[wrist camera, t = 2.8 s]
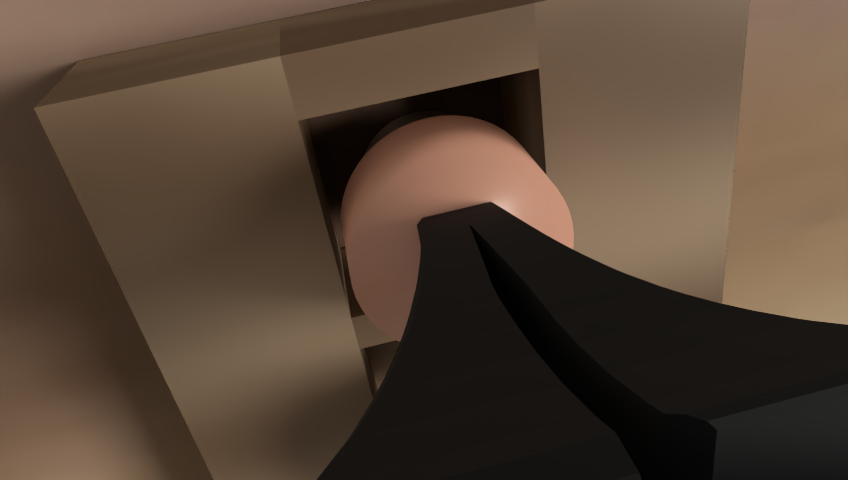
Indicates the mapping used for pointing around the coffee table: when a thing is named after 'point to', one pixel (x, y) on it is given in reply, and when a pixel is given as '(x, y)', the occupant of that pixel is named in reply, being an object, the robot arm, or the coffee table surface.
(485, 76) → the wooden tray
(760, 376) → the robot arm
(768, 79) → the coffee table surface
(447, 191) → the pink ball
